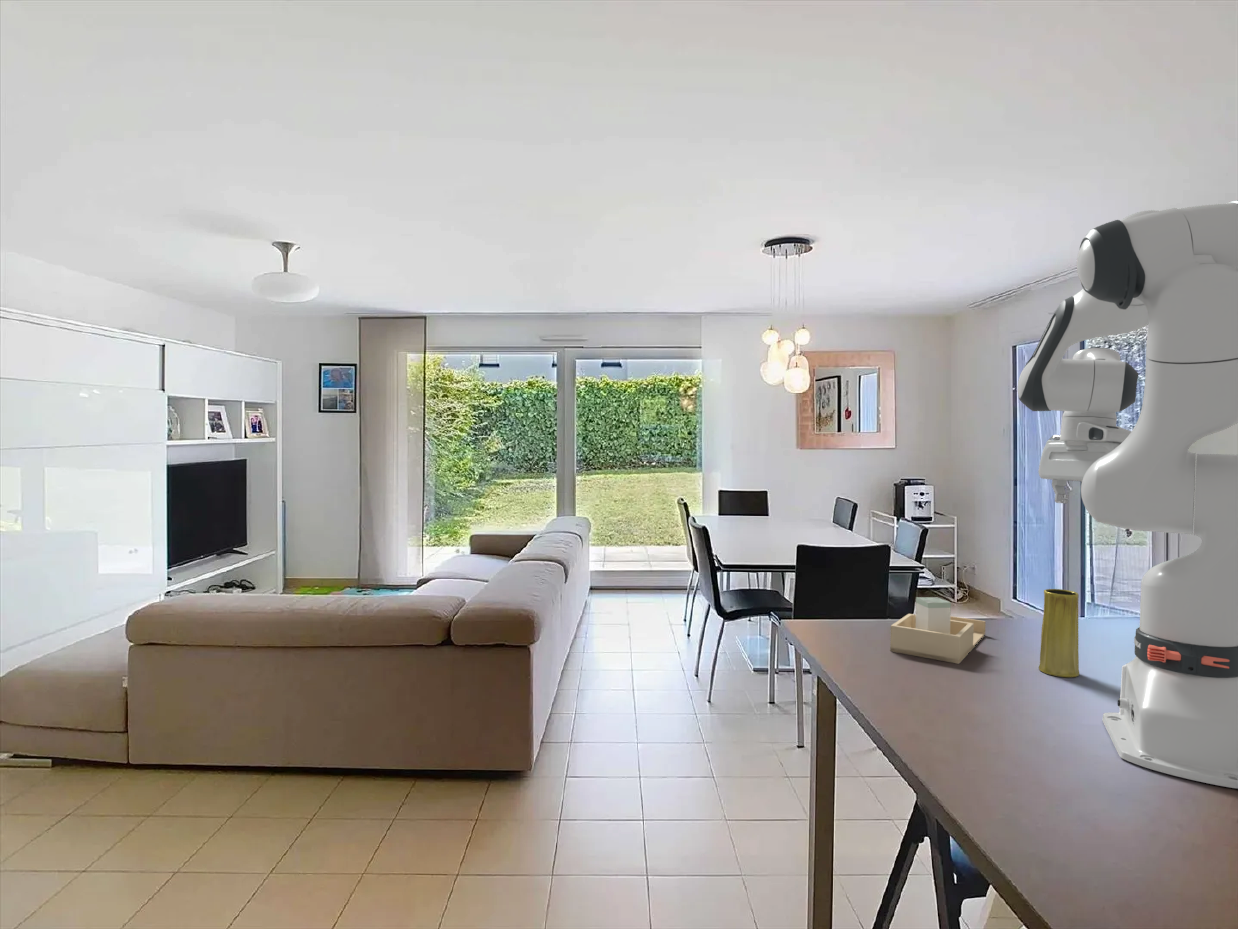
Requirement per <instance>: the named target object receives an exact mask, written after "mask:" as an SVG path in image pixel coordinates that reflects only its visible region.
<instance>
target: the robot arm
mask: <svg viewBox="0 0 1238 929" xmlns="http://www.w3.org/2000/svg"><path fill="white" fill-rule="evenodd" d="M1076 273H1077V276H1078V279H1079V281H1080V283H1081V284H1080V285H1081V287H1082V289H1081V290H1079V291H1078V292H1077V293H1075V294H1073V295H1072V296H1069V297H1067V298H1066V299H1063V300H1062V301H1061V302H1060V304H1059V305H1058V306H1057V308H1056V310H1055V311H1054V313H1053V314H1052V316H1051V318H1050V320H1049V322H1048V323H1047V326H1046V328H1045V329H1044V331H1043V333H1042V336H1041V338H1040V340H1039V342H1038V343H1037V345H1036V348H1035V350H1034V351H1033V354H1031V357H1030V358H1029V359H1028V361H1027V362H1026V364H1024V367H1023V369H1022V371H1021V372H1020V375H1019V377H1018V379H1017V380H1018V381H1017V397H1018V400H1019V401H1020V402H1021V403H1022V404H1023V405H1024V406H1025V407H1026V408H1028V409H1029V410H1030V411H1032V412H1051V411H1059V412H1063V413H1062V417H1061V426H1060V432H1059V433H1060V434H1053V435H1052V436H1051V437H1050V438H1049V439H1048V440H1047V441H1046V442H1045V445H1044V447H1043V449H1042V452H1041V456H1040V461H1039V464H1038V472H1037V473H1038V475H1039V478H1040V479H1043V480H1051V487H1052V490H1053V492H1054V502H1055V503H1057V504H1068V502H1069V496H1070V495H1069V494H1066V490H1065V487H1066V486H1067V483H1068V482H1067V481H1069V482H1081V483H1080V484H1081V485H1080V495H1081V500H1082V504H1083V505H1084V508H1085V510H1086V511H1087V512H1088V513H1089V516H1091V517H1092V518H1093V519H1094V520H1095V521H1096V522H1098V523H1102V524H1105V525H1109V526H1113V527H1117V528H1122V529H1125V530H1126V529H1128V530H1131V531H1139V532H1141V531H1143V532H1152V533H1153V532H1155V533H1167V534H1169V533H1170V534H1181V535H1183V534H1184V535H1193V536H1197V537H1199V538H1200V539H1201V543H1200V544H1199V547H1198V548H1197V549H1196V550H1194V552H1192V553H1189V554H1187V555H1184V556H1183V555H1182V556H1179V557H1176V558H1173V559H1169V560H1165V561H1163V562H1161V563H1158V564H1156V565H1154V566H1152V567H1151V568H1149V569H1148V570H1147V571H1146V572H1145V573H1144V575H1143V576H1142V578H1141V581H1140V600H1139V602H1140V603H1139V604H1140V607H1139V608H1140V609H1139V627H1137V628H1136V629H1135V636H1134V638H1133V639H1134V640H1133V643H1134V655H1135V657H1134V658H1133V659H1132V660H1131V661H1129V662H1127V663H1125V664H1124V665H1122V666H1121V676H1120V677H1121V680H1120V693H1119V694H1120V698H1118V699H1117V706H1118V709H1119V712H1104V713H1103V715H1102V719H1101V720H1102V723H1103V724H1104V727H1105V729H1106V731H1107V733H1108V736H1109V737H1110V739H1111V741H1112V744H1113V746H1114V748H1115V750H1116V752H1117V754H1118V755H1119V756H1118V757H1120V758H1121V759H1123V760H1125V761H1127V762H1130V763H1132V764H1134V765H1137V766H1140V767H1143V768H1147V769H1150V770H1153V771H1155V772H1159V773H1162V774H1167V775H1170V776H1174V777H1178V778H1182V779H1187V780H1191V781H1196V782H1201V783H1204V784H1205V783H1206V784H1208V785H1209V784H1210V785H1215V786H1220V787H1226V788H1230V789H1231V788H1232V789H1237V790H1238V454H1232V453H1230V454H1227V453H1196V452H1191V451H1189V449H1190V448H1191V447H1192V446H1193V444H1195V443H1196V442H1198V441H1199V440H1201V439H1202V438H1205V437H1207V436H1211V435H1213V434H1215V433H1219V432H1221V431H1222V432H1223V431H1224V430H1227V429H1229V428H1232V427H1233V426H1235V425H1237V424H1238V199H1236V200H1231V201H1229V202H1227V203H1218V204H1217V203H1216V204H1215V203H1214V204H1205V205H1203V204H1202V205H1198V206H1197V205H1196V206H1189V207H1182V208H1175V207H1173V208H1168V209H1167V208H1166V209H1162V210H1154V209H1153V210H1152V209H1151V210H1142V211H1138V212H1135V213H1132V214H1130V215H1129V214H1128V216H1126V217H1124V218H1123V219H1121V220H1120V219H1114V220H1112V221H1109V222H1106V223H1103V224H1101V225H1098V226H1096V227H1094V228H1092V229H1090V230H1089V231H1087V233H1086V234H1085V235H1084V237H1083V239H1082V240H1081V242H1080V246H1079V250H1078V253H1077V257H1076ZM1145 327H1147V335H1146V347H1145V348H1146V349H1145V376H1144V379H1145V380H1144V389H1143V391H1144V392H1143V399H1142V405H1141V410H1140V414H1139V417H1138V419H1137V421H1136V423H1135V426H1134V427H1133V429H1132V430H1129V429H1126V428H1123V427H1120V426H1118V425H1117V422H1118V421H1117V413H1118V412H1122V411H1124V410H1125V409H1127V408H1129V407H1130V406H1132V405H1133V404H1134V403H1136V401H1137V398H1136V397H1137V386H1138V379H1139V372H1138V371H1137V370H1136V369H1135V368H1134V367H1133V366H1132V365H1131V364H1130V363H1129V362H1127V361H1122V360H1121V354H1120V353H1119V352H1118V351H1116V350H1114V349H1112V348H1107V347H1088V348H1084V349H1081V350H1078V351H1077V352H1075V353H1074V354H1073V356H1072V358H1064V357H1065V355H1066V353H1067V352H1068V349H1069V348H1070V347H1071V346H1073V345H1076V344H1077V343H1081V342H1083V341H1086V340H1091V339H1097V338H1102V337H1108V336H1115V335H1122V334H1127V333H1133V332H1135V331H1138V330H1140V329H1143V328H1145Z"/></svg>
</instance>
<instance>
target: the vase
mask: <svg viewBox="0 0 1238 929" xmlns="http://www.w3.org/2000/svg"><path fill="white" fill-rule="evenodd" d="M1043 600H1044V601H1043V615H1042V616H1043V617H1042V623H1041V624H1042V625H1041V634H1040V636H1041V637H1040V650H1039V652H1040V653H1039V664H1038V665H1039V666H1038V670H1039V671H1040V672H1042V673H1043V674H1046V675H1049V676H1053V677H1060V678H1068V679H1069V678H1077V677H1079V675H1080V670H1079V668H1080V666H1079V660H1080V659H1079V655H1080V654H1079V593H1078V592H1076V591H1073V590H1067V589H1062V588H1047V589H1044V590H1043Z"/></svg>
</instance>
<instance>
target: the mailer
mask: <svg viewBox="0 0 1238 929" xmlns="http://www.w3.org/2000/svg"><path fill="white" fill-rule="evenodd" d="M986 626H987V624H986V620H980V619H974V618H973V619H972V618H966V617H960V616H954V615H953V616H952V615H951V618H950V634H947V633H940V632H934V631H928V630H922V629H916V613H915V614H914V613H907V614H906V615H904V616H903V617H902V618H900V619H898V620H897V621H895V622H893V623H892V624H891V625H890V639H889V640H890V646H889V648H890V649H889V651H890V652H893V653H897V654H903V655H908V656H914V657H919V658H926V659H930V660H938V661H942V662H946V663H951V664H958V665H959V664H960V663H961V662H962V661H963V660H964V659H965V658H966V657H967V656H968V655H969V654H970V653H971V652H972V651H973V649H974V648H975V647H976V646H977V645H978V644H979V643H980V642H981V641H982V639H983V638H984V637H985V636H986V628H987V627H986ZM984 635H985V636H984ZM981 638H982V639H981ZM980 640H981V641H980ZM979 641H980V642H979ZM978 642H979V643H978ZM976 644H977V645H976ZM975 645H976V646H975ZM969 652H970V653H969ZM968 653H969V654H968Z"/></svg>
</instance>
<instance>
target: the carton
mask: <svg viewBox="0 0 1238 929" xmlns="http://www.w3.org/2000/svg"><path fill="white" fill-rule="evenodd" d="M951 610H952V602H950V601H948V600H946V599H943V598H941V597H936V596H934V597H933V596H930V597H929V596H928V597H922V596H921V597H917V596H916V597H915V615H916V629H922V630H928V631H934V632H940V633H947V634H950V618H951V616H952V615H951V614H952V613H951V612H952V611H951Z"/></svg>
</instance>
